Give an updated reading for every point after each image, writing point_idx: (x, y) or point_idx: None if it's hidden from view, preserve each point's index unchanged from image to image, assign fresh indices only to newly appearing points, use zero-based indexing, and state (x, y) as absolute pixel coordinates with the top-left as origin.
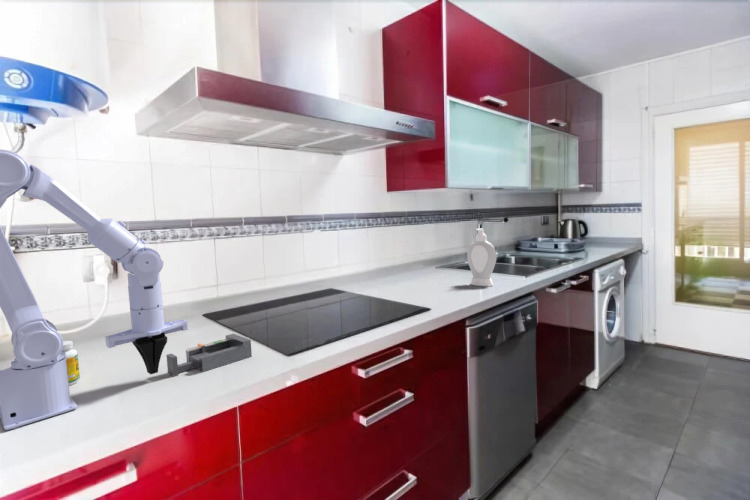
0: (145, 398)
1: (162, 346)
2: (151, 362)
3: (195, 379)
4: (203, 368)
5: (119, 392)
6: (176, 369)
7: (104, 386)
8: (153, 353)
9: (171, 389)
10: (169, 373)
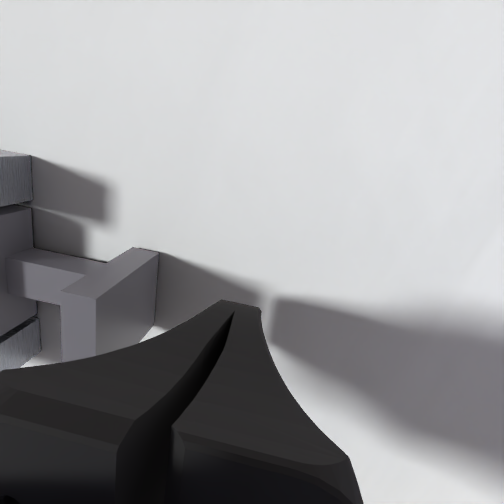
0: (422, 90)
1: (90, 368)
2: (243, 336)
3: (102, 87)
4: (9, 155)
5: (429, 321)
6: (124, 259)
7: (411, 453)
8: (192, 395)
9: (261, 74)
10: (154, 306)
